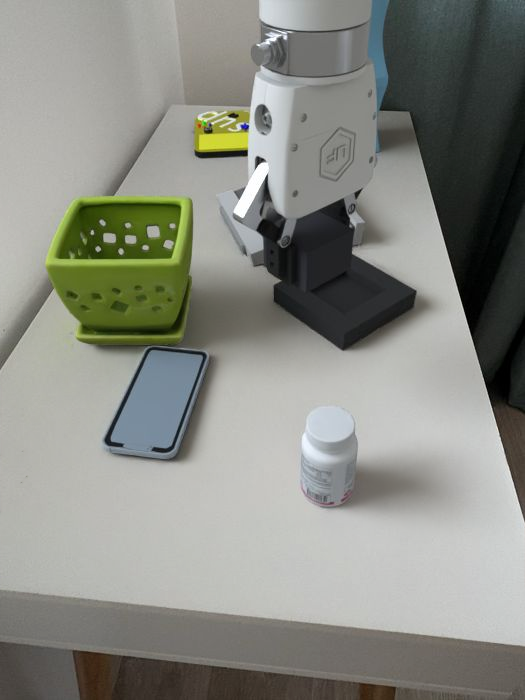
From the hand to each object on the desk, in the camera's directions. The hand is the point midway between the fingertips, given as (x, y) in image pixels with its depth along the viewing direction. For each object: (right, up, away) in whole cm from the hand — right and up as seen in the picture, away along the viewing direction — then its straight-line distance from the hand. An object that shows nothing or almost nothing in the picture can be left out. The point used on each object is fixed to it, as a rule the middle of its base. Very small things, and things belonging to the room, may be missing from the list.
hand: (307, 262), depth 56 cm
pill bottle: (+2, -20, +1) cm, 20 cm away
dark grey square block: (0, 0, 0) cm, 0 cm away
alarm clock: (-1, +10, +35) cm, 36 cm away
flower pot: (-18, -4, +19) cm, 27 cm away
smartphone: (-14, -13, +9) cm, 21 cm away
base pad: (+6, -2, +20) cm, 21 cm away
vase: (+10, +28, +55) cm, 63 cm away
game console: (-11, +31, +59) cm, 67 cm away
